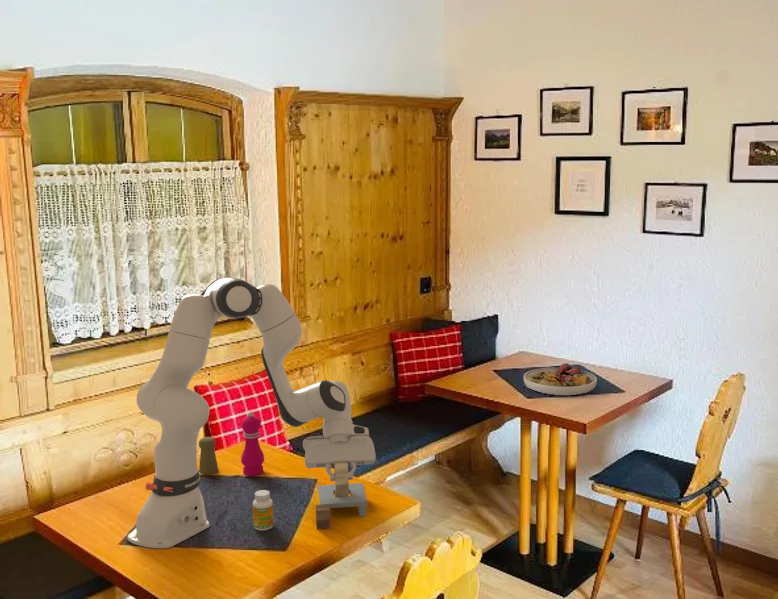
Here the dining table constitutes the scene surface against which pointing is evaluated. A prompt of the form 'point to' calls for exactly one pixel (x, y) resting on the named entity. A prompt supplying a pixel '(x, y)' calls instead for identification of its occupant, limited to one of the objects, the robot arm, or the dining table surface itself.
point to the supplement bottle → (262, 511)
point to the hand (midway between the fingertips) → (341, 479)
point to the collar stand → (354, 499)
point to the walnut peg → (323, 516)
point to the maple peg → (341, 479)
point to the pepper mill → (252, 446)
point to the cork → (207, 456)
